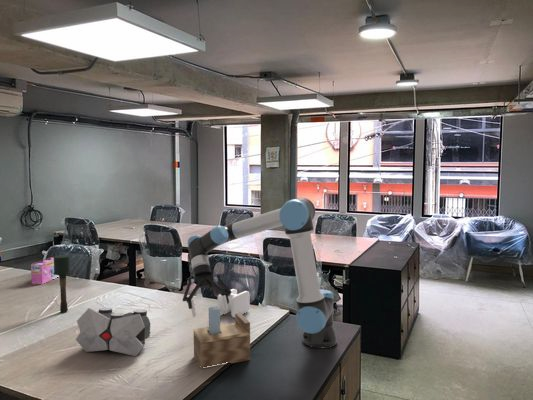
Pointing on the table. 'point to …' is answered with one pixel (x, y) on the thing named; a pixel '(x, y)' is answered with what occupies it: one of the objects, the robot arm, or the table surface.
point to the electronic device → (113, 331)
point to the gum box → (43, 271)
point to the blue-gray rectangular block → (214, 320)
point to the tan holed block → (225, 330)
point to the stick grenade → (62, 277)
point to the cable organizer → (235, 303)
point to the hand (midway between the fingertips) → (211, 313)
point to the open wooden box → (222, 351)
